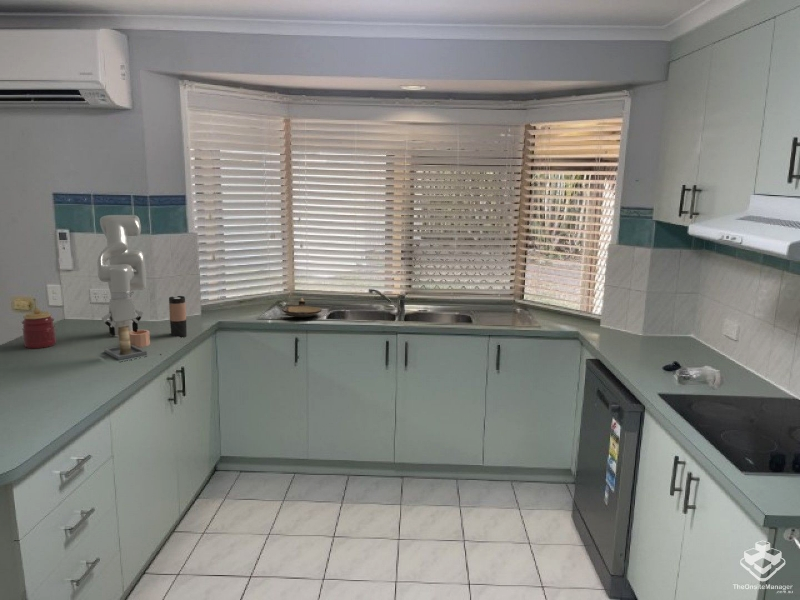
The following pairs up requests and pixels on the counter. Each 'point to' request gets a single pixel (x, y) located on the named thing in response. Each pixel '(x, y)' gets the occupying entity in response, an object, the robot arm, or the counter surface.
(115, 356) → the tray
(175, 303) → the travel mug
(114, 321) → the robot arm
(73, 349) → the counter surface
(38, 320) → the canister
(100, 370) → the counter surface
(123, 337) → the peg
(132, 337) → the cup
